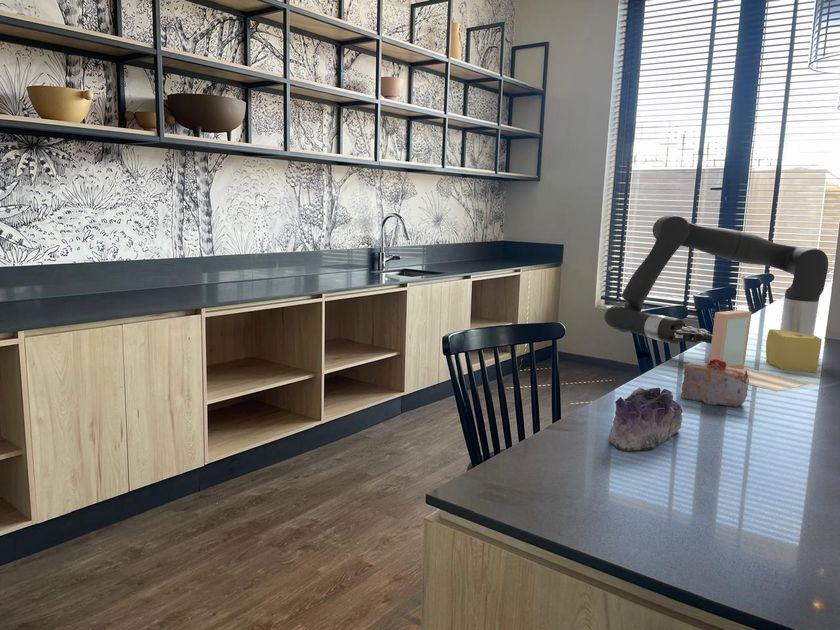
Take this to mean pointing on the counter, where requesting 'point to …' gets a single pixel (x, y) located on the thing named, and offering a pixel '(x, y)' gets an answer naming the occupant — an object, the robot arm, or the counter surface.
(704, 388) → the food item
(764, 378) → the mat
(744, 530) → the counter surface
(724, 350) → the tile
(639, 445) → the geode
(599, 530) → the counter surface
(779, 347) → the cheese
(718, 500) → the counter surface
